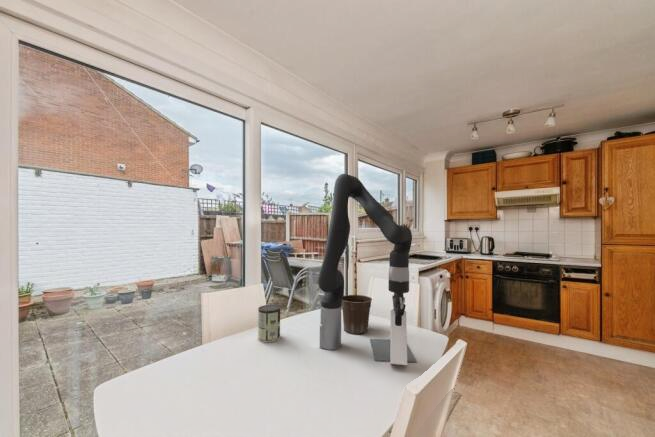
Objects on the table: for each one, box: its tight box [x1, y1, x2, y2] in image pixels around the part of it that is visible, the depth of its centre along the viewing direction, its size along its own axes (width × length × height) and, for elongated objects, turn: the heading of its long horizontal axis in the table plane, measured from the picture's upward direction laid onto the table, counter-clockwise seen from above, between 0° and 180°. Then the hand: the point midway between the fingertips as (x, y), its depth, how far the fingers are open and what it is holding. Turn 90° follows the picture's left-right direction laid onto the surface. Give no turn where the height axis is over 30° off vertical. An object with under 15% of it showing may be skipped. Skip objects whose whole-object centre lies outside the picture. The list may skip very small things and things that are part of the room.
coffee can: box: [257, 304, 281, 343], centre depth 132 cm, size 10×10×14 cm
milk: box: [389, 308, 408, 366], centre depth 110 cm, size 6×6×22 cm
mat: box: [369, 338, 418, 364], centre depth 120 cm, size 16×21×1 cm
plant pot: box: [341, 294, 373, 335], centre depth 144 cm, size 16×16×16 cm
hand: (398, 325), depth 105 cm, fingers closed
